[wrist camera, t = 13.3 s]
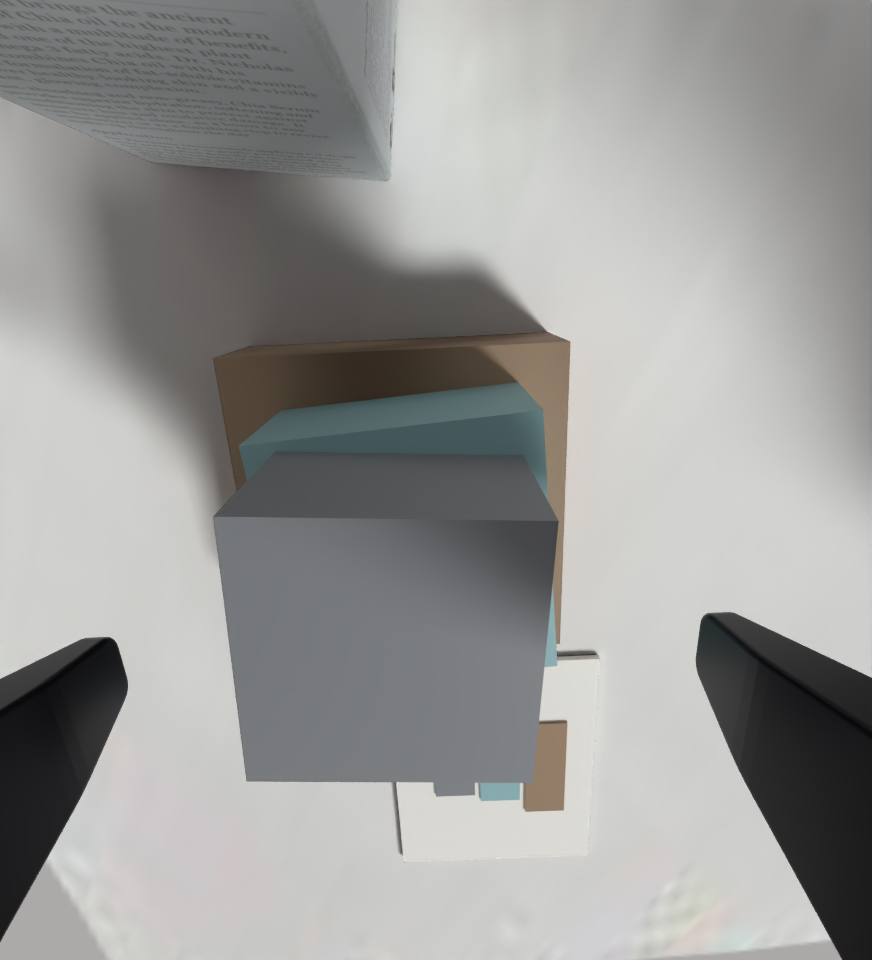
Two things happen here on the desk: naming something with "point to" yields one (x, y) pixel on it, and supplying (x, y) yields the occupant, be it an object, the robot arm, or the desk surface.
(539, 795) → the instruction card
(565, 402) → the base block
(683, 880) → the desk surface
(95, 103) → the skincare box
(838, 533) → the desk surface
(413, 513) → the grey block
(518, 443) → the teal block
